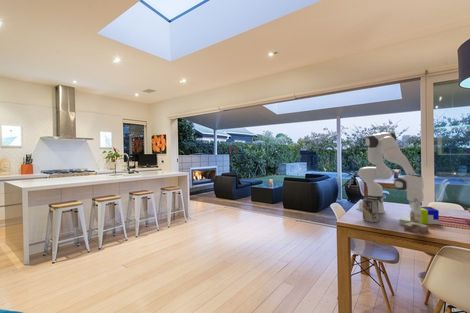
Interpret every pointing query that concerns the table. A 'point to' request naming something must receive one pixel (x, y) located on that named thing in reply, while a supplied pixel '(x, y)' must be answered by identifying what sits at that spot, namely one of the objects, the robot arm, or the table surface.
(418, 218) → the oak block
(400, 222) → the sage block
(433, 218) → the puzzle toy
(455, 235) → the table surface
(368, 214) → the coffee box
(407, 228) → the walnut block
